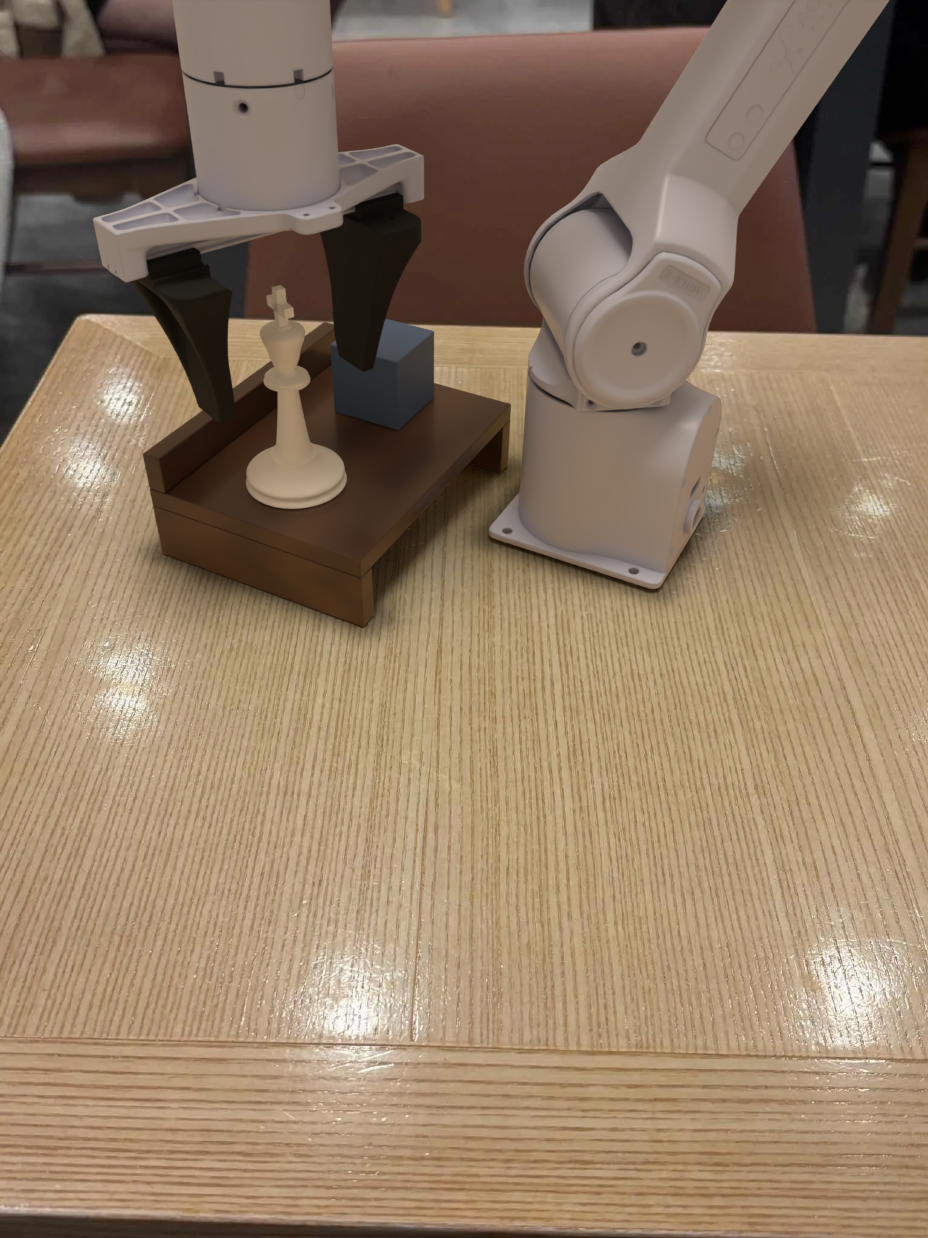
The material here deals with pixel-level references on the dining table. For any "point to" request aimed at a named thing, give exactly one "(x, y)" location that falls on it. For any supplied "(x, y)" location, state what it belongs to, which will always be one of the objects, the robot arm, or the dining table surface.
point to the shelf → (330, 532)
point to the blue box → (388, 377)
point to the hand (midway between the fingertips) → (288, 386)
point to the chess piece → (291, 426)
